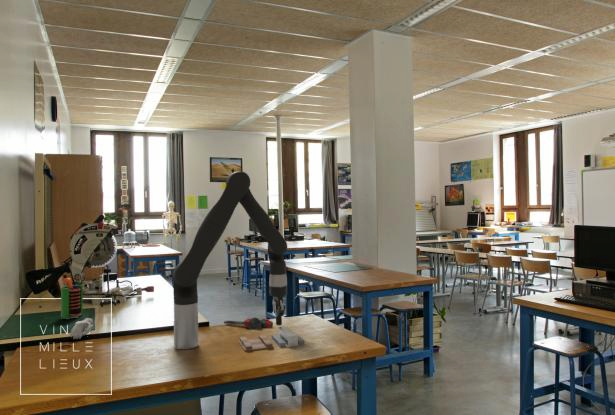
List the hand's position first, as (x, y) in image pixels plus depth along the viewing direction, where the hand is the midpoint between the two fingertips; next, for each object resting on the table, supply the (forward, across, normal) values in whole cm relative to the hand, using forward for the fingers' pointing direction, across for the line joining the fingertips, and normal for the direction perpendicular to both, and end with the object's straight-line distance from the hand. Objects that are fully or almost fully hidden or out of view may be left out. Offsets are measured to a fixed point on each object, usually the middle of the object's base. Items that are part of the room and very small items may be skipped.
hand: (278, 324), depth 192 cm
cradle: (+4, +14, -13) cm, 19 cm away
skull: (+4, -30, -79) cm, 85 cm away
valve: (+5, -20, -8) cm, 22 cm away
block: (+3, +14, 0) cm, 14 cm away
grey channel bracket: (+5, +14, 0) cm, 14 cm away
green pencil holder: (+4, -69, -89) cm, 113 cm away
